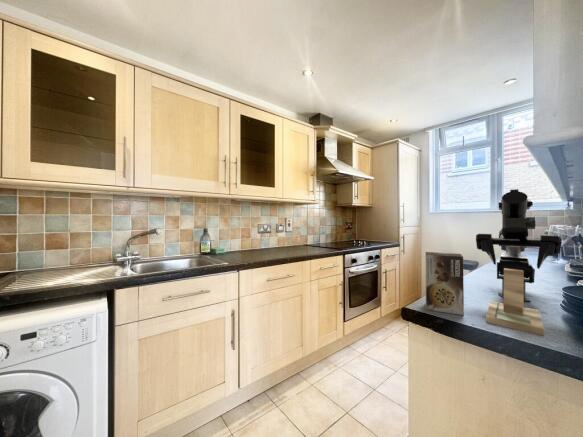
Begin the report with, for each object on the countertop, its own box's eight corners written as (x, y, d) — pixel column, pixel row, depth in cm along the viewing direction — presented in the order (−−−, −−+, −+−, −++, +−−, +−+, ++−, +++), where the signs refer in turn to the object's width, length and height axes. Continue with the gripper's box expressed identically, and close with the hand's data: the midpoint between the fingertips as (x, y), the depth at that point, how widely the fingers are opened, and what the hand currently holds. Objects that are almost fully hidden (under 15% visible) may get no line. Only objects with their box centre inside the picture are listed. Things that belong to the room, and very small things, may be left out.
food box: (460, 308, 68) (461, 253, 68) (464, 316, 63) (464, 256, 63) (425, 302, 73) (425, 251, 73) (425, 309, 67) (425, 253, 67)
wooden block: (504, 306, 66) (504, 267, 66) (523, 310, 63) (523, 269, 64) (503, 312, 62) (503, 270, 62) (523, 316, 59) (523, 272, 59)
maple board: (490, 306, 71) (490, 300, 71) (538, 315, 64) (538, 309, 64) (486, 321, 59) (486, 315, 59) (544, 335, 52) (544, 328, 52)
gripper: (475, 209, 78) (473, 246, 70) (560, 207, 65) (568, 252, 58) (478, 231, 84) (475, 267, 76) (556, 232, 71) (562, 276, 64)
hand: (515, 265), depth 68 cm, fingers open, 9 cm apart
